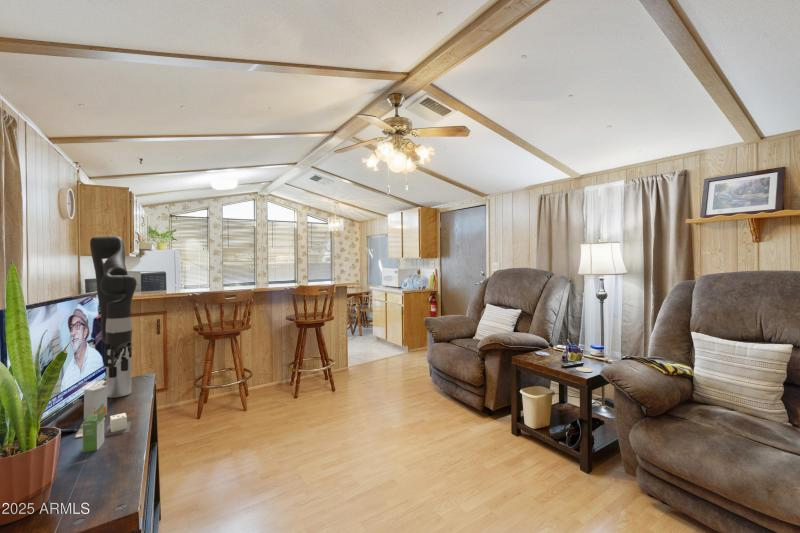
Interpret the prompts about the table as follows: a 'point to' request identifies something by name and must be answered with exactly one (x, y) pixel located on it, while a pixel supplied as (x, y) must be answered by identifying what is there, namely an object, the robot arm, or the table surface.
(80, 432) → the board
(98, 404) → the skincare box
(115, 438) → the table surface
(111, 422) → the die
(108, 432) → the mat
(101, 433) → the ink box
